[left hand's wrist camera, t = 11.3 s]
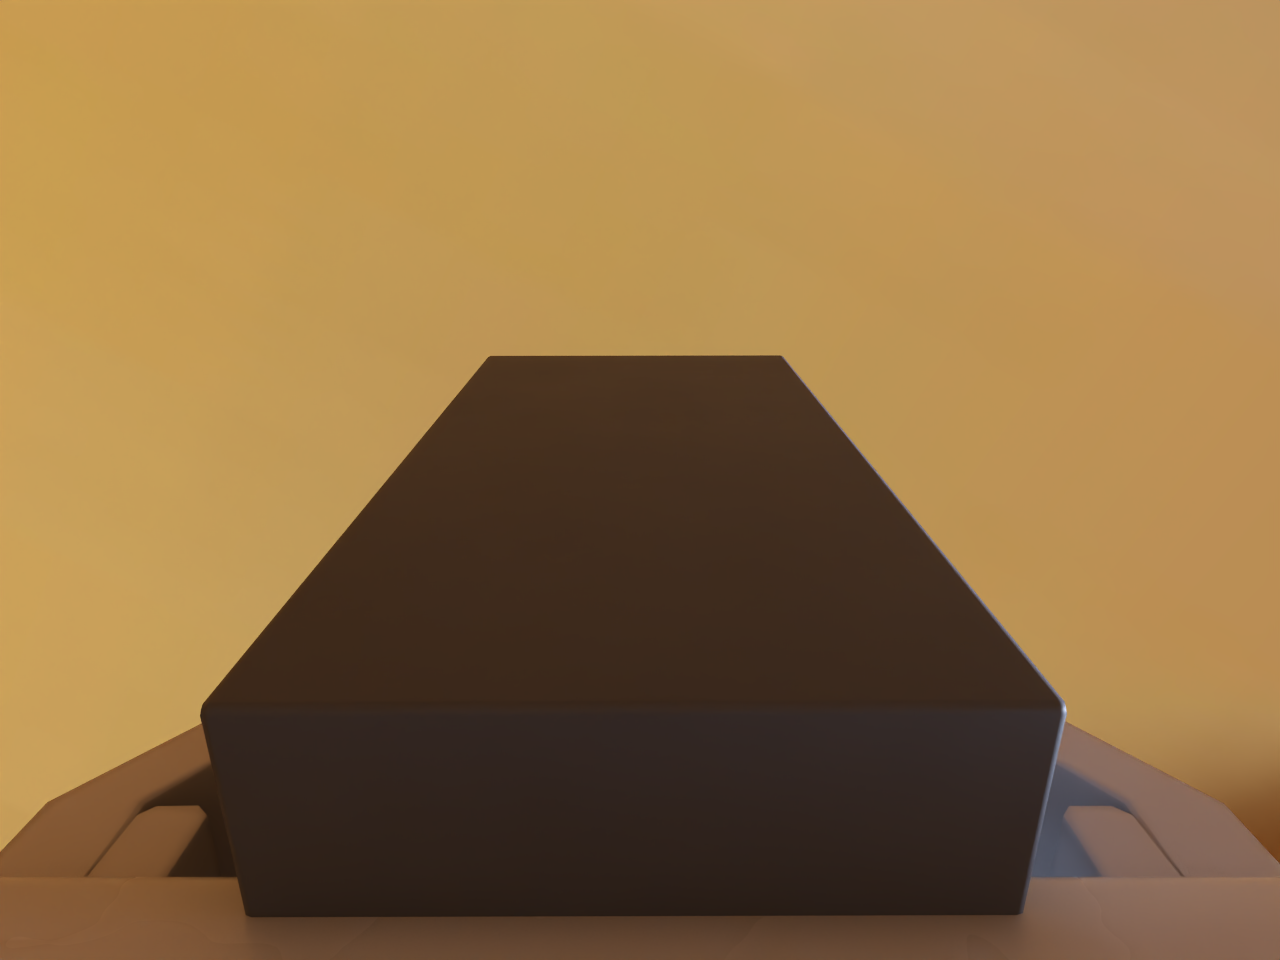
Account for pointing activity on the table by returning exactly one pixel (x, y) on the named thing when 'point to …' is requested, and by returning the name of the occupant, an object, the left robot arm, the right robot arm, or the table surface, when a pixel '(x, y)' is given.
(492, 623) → the bar
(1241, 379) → the table surface
